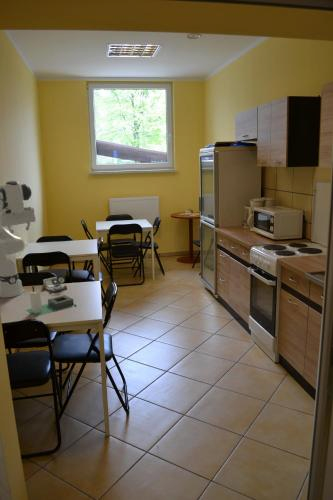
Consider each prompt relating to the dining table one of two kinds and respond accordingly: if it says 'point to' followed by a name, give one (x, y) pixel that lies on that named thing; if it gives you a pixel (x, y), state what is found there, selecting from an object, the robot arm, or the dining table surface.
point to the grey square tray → (60, 302)
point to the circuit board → (46, 310)
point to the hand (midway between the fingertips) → (19, 231)
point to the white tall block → (35, 301)
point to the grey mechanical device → (53, 284)
